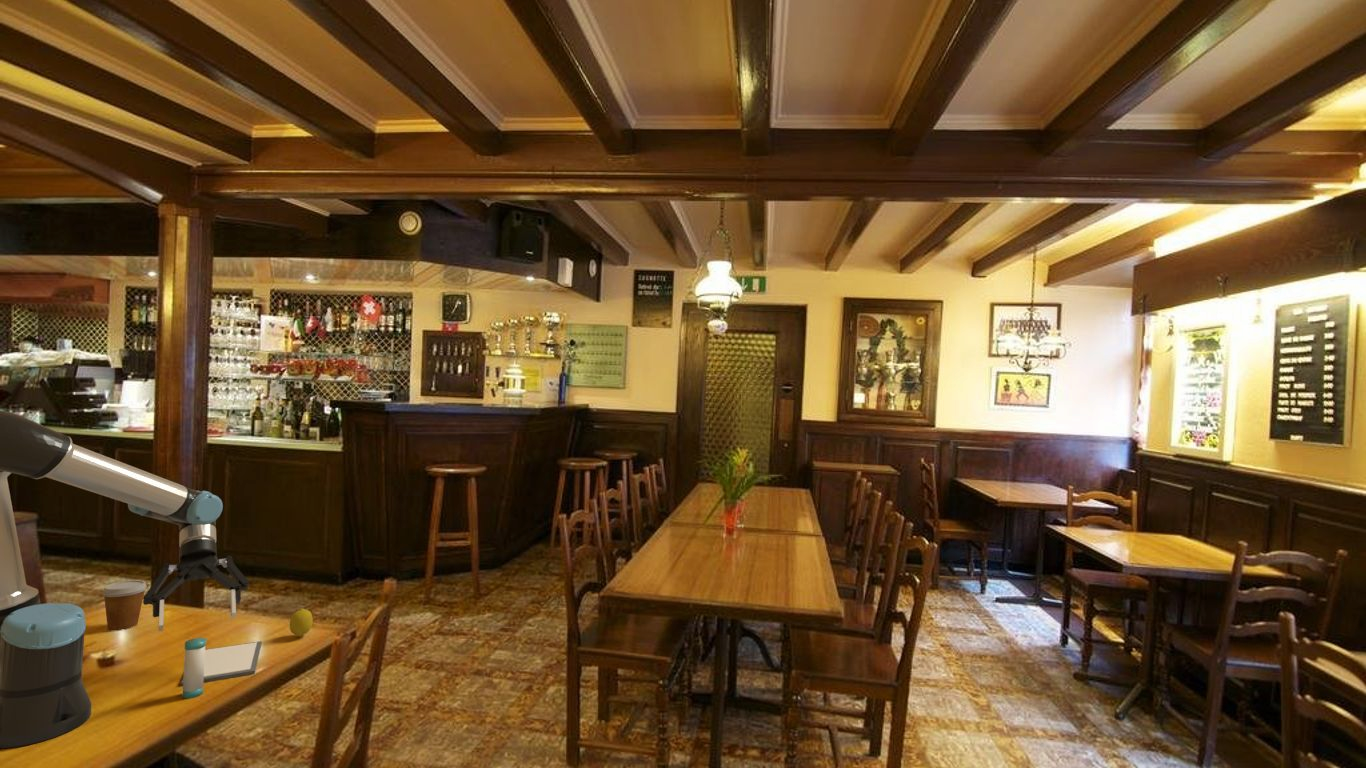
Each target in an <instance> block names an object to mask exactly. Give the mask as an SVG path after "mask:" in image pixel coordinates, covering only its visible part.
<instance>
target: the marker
mask: <svg viewBox="0 0 1366 768" xmlns="http://www.w3.org/2000/svg"><path fill="white" fill-rule="evenodd" d="M206 646H207V638H205V637H197V638H196V637H195V638H191V639H188V640H187V641H185V642H184V661H183V676H182V677H183V678H182V680H183V686H182V698H183V699H185V700H186V699H188V698H189V699H193V698H197V697H200V696H201V695H202V694H203V693H204V682H203V681H204V662H205V649H206Z"/></svg>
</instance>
